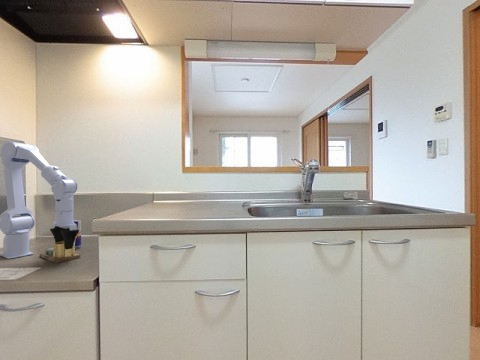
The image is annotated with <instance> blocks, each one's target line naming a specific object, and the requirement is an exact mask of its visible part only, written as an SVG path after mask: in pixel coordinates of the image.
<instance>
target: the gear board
mask: <svg viewBox="0 0 480 360" xmlns="http://www.w3.org/2000/svg"><path fill="white" fill-rule="evenodd" d="M39 257H40V258H41V259H44V260H47V261H49V262H52V263H55V264H58V263H63V262H66V261H67V262H68V261H72V260H76V259H80V258H81V254H79V253H76V252H75V255H73V256H69V257H64V258H53V247H51V248H47V249H45V252H43V253H40V254H39Z"/></svg>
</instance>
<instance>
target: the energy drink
mask: <svg viewBox="0 0 480 360" xmlns="http://www.w3.org/2000/svg"><path fill="white" fill-rule="evenodd" d="M73 222H74V223H75V224H77V229H79V232H78V234H77V236H76V238H75V241H74V242H75V250H77V249H81V248H82V221H81V219H73Z"/></svg>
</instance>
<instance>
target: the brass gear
mask: <svg viewBox="0 0 480 360" xmlns="http://www.w3.org/2000/svg"><path fill="white" fill-rule="evenodd" d="M52 248H53V258H64V257H69V256H73V255H75V253H76V251H75V250H76V249H75V242H74V244H73V248H72V249H67V250H66V249H65V245H64V241H60V242H55V241H54V242H53V247H52Z"/></svg>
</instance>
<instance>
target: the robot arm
mask: <svg viewBox="0 0 480 360" xmlns="http://www.w3.org/2000/svg"><path fill="white" fill-rule="evenodd" d="M0 155H1V163H2V168H3V177H4V187H5V193H6V194H5V197H6V204H7V205H6V206H7V209H6V210H5V211H3V212H1V214H0V231H1V232H2V233H3V235H4V237H3V238H2V239H3V241H2V242H3V243H2V245H3V246H2V247H3V248H2V253H0V256H1V257H3V258H5V259H14V258H15V259H16V258H19V257H20V258H21V257H26V256H30V255H34V253H33V252H32V251H30V232H32V229H33V228H34V227H35V223H36V220H35V218H34V216H33V211H32V210H31V209H29V208H28V207H26V201H25V199H26V198H25V192H24V190H25V189H24V184H23V182H24V181H23V175H22V172H23V171H22V168H23V167H24V166H26V165H28V164H29V163H31V164H32V165H34V166H35V167H36V169H38V170H39V171H40V175H41V177H42V178H43V179H44V180H45V181H46V182H47V183H48V184H49V185H50V186H51V187H50V190H51V192H52V194H53V198H54V200H55V206H54V207H55V211H54V214H55V216H54V217H55V218H54V219H55V220H54V221H52V224H51V227H52V228H50V229H49V230H50V231H49V232H50V233H51V234H52V236H53V239H54V242H60V241H64V245H65V249H66V250H67V249H72V248H73V244H74V241H75V238H76V236H77V234H78V232H79V229H77V224H75V223H74V222H73V220H74V212H75V211H74V207H75V206H74V197H75V196H74V195H75V193H76V192H77V190H78V183H77V181H76V180H75V179H74V178H69V177H68V176H67V175H66V174H64V173H63V172H62V171H61V170H60V168H59V166H55V165H50V164H49V163H48V162H47V160H46V159H45V158H44V156H43V155H41V153H40V149H39V148H38V147H37V146H36V145H35V144H31V143H22V142H15V141H11V140H9V141H6V142H4V143H3V145H2V146H1V148H0Z"/></svg>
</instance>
